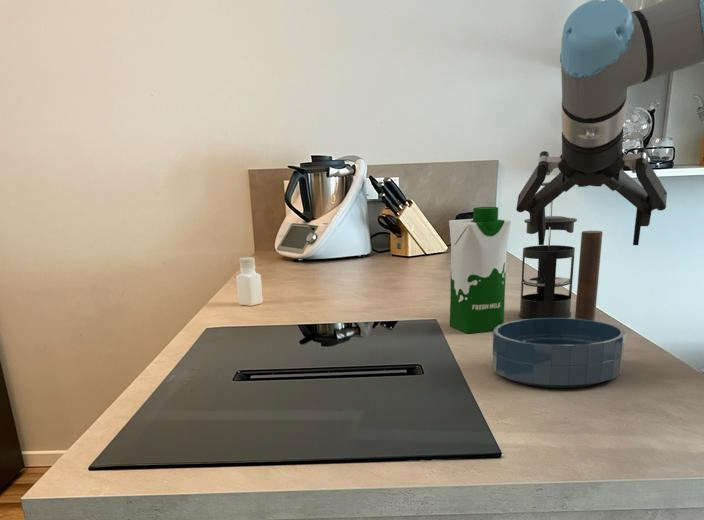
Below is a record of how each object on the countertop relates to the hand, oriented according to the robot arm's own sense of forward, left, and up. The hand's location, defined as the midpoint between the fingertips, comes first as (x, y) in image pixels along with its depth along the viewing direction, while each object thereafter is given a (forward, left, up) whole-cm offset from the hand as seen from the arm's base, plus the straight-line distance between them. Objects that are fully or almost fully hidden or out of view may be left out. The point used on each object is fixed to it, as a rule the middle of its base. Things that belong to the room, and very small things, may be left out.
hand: (588, 238), depth 118 cm
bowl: (+5, +19, -16) cm, 25 cm away
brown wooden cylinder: (-1, -8, -16) cm, 18 cm away
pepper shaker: (+65, -32, -16) cm, 74 cm away
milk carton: (+17, -10, -16) cm, 25 cm away
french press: (+5, -21, -16) cm, 27 cm away
